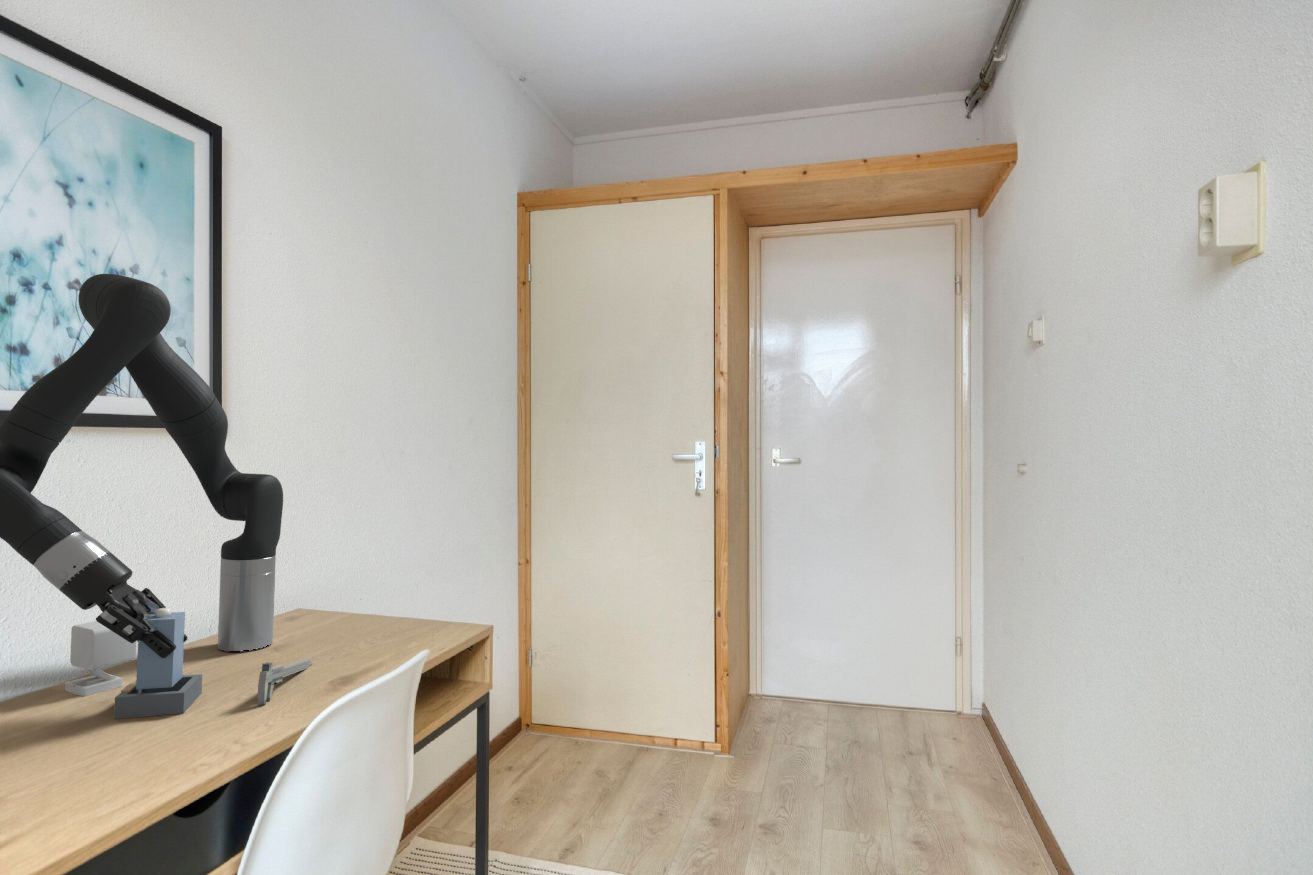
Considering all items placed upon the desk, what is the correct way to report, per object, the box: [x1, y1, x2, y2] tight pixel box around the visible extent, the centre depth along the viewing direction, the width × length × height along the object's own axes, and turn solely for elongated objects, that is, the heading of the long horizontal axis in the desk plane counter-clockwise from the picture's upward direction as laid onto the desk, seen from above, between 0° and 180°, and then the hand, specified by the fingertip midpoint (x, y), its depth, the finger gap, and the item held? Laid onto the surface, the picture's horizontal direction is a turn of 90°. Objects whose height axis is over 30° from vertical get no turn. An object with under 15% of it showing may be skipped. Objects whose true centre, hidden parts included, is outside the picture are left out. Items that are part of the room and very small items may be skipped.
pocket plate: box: [113, 673, 203, 720], centre depth 105 cm, size 9×8×3 cm
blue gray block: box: [135, 607, 186, 689], centre depth 105 cm, size 4×4×11 cm
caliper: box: [257, 659, 313, 706], centre depth 116 cm, size 20×1×6 cm, turn 8°
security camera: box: [64, 620, 137, 697], centre depth 112 cm, size 6×7×10 cm
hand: (176, 647), depth 105 cm, fingers closed on blue gray block, 4 cm apart
